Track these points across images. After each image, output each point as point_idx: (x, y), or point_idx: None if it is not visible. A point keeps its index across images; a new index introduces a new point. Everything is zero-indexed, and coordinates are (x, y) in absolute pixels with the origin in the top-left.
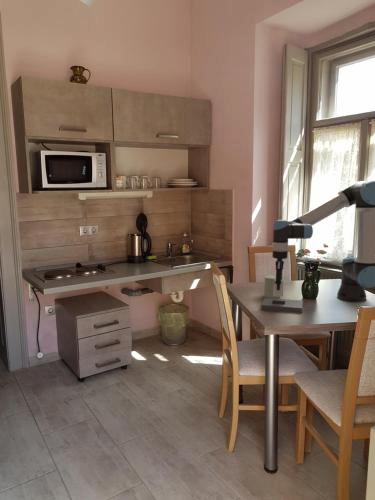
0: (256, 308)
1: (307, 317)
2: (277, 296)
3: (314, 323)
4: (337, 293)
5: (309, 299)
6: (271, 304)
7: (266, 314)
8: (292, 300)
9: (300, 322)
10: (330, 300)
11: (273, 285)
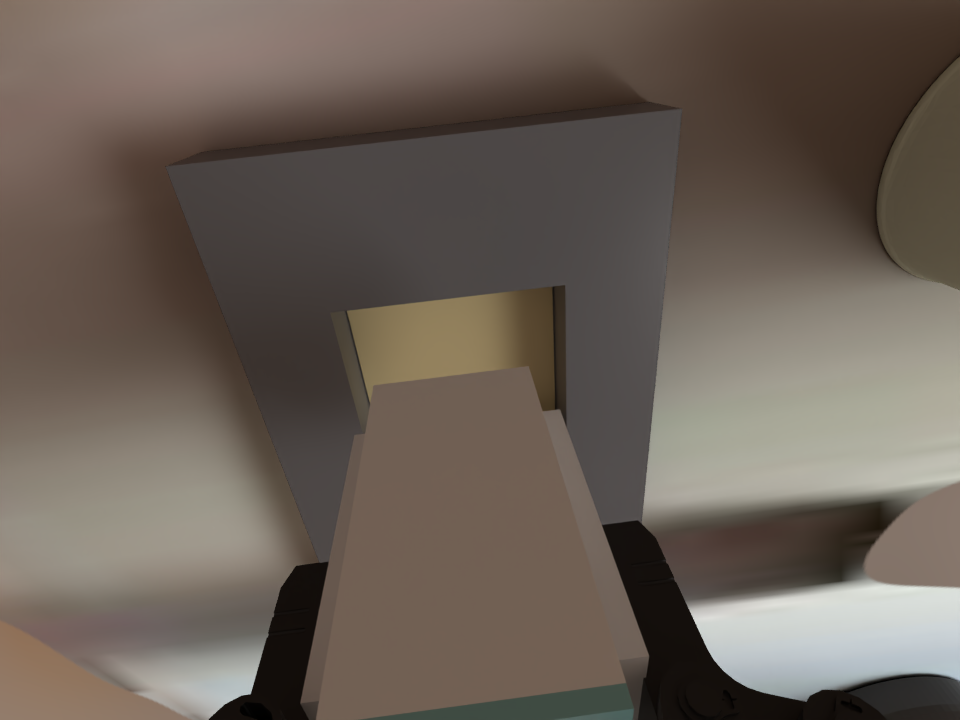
0: (226, 43)
1: (244, 615)
2: (915, 264)
3: (120, 667)
4: (923, 712)
5: (837, 549)
6: (303, 316)
7: (36, 276)
8: (615, 501)
9: (58, 600)
10: (808, 658)
11: (342, 576)
